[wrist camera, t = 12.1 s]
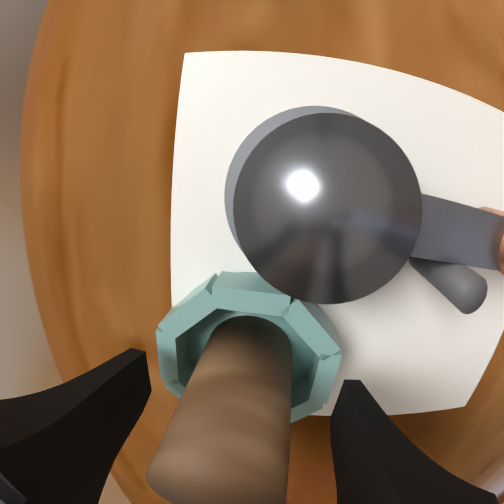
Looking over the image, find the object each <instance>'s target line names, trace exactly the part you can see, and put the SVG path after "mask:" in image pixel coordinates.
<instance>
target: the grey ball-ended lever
mask: <svg viewBox="0 0 504 504" xmlns="http://www.w3.org/2000/svg"><path fill="white" fill-rule="evenodd" d="M233 217H234V226H235V230H236V234H237V238H238V240H239V243H240V246H241V248H242V250H243V252H244V254H245V256H246V258H247V260H248V261H249V262H250V264H251V265H252V267H253V268H254V269H255V271H256V272H257V273H258V274H259V275H260V276H261V277H262V278H263V279H264V280H265V281H266V282H268V283H269V284H270V285H271V286H272V287H274V288H276V289H277V290H279V291H280V292H282V293H284V294H286V295H288V296H290V297H292V298H295V299H298V300H301V301H304V302H309V303H315V304H328V305H329V304H341V303H346V302H351V301H355V300H358V299H361V298H363V297H365V296H368V295H370V294H372V293H374V292H375V291H377V290H378V289H380V288H382V287H383V286H384V285H386V284H387V283H388V282H389V281H390V280H392V279H393V278H394V277H395V275H396V274H397V273H398V272H399V271H400V270H401V269H402V267H403V266H404V265H405V263H406V262H407V260H408V259H409V257H416V258H423V259H429V260H435V261H442V262H448V263H454V264H462V265H466V266H472V267H478V268H484V269H490V270H496V271H498V272H499V273H501V274H502V275H504V211H501V210H497V209H494V208H490V207H480V208H475V207H471V206H468V205H464V204H461V203H457V202H454V201H450V200H446V199H442V198H438V197H434V196H430V195H426V194H422V193H421V190H420V186H419V182H418V179H417V176H416V174H415V171H414V169H413V166H412V165H411V163H410V161H409V159H408V157H407V156H406V154H405V153H404V152H403V150H402V149H401V148H400V146H399V145H398V144H397V143H396V142H395V141H394V140H393V139H392V138H391V137H390V136H389V135H387V134H386V133H385V132H383V131H382V130H381V129H379V128H378V127H376V126H374V125H373V124H371V123H369V122H367V121H364V120H362V119H360V118H357V117H353V116H349V115H346V114H338V113H316V114H310V115H305V116H301V117H298V118H295V119H292V120H290V121H288V122H286V123H284V124H282V125H280V126H279V127H277V128H276V129H274V130H273V131H271V132H270V133H269V134H268V135H266V136H265V137H264V138H263V139H262V140H261V141H260V142H259V143H258V144H257V145H256V147H255V148H254V149H253V150H252V151H251V153H250V155H249V156H248V158H247V159H246V161H245V163H244V165H243V167H242V169H241V171H240V173H239V176H238V180H237V183H236V186H235V192H234V199H233Z"/></svg>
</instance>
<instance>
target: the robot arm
mask: <svg viewBox="0 0 504 504" xmlns="http://www.w3.org/2000/svg"><path fill="white" fill-rule="evenodd" d="M151 391H152V390H151V384H150V378H149V372H148V365H147V359H146V351H142V350H138V349H134V348H130V349H128V350H126V351H125V352H123V353H121V354H119V355H117V356H116V357H114V358H112V359H110V360H109V361H107V362H105V363H103V364H101V365H100V366H98V367H96V368H94V369H92V370H90V371H88V372H87V373H84V374H82V375H80V376H78V377H76V378H74V379H72V380H70V381H68V382H66V383H63V384H61V385H58V386H56V387H53V388H50V389H47V390H44V391H41V392H38V393H34V394H30V395H25V396H21V397H17V398H11V399H3V400H0V504H98V502H99V499H100V496H101V493H102V490H103V487H104V485H105V482H106V479H107V477H108V474H109V472H110V470H111V467H112V465H113V463H114V460H115V458H116V456H117V454H118V453H119V451H120V449H121V447H122V446H123V444H124V442H125V441H126V439H127V437H128V436H129V434H130V432H131V431H132V429H133V428H134V426H135V424H136V422H137V421H138V419H139V417H140V416H141V414H142V412H143V410H144V408H145V406H146V403H147V401H148V398H149V396H150V393H151ZM330 430H331V447H332V455H333V463H334V471H335V479H336V487H337V504H499V503H498V501H497V498H496V495H495V494H493V493H491V492H488V491H486V490H483V489H481V488H478V487H476V486H473V485H471V484H469V483H467V482H465V481H464V480H462V479H460V478H458V477H456V476H455V475H453V474H451V473H450V472H448V471H447V470H445V469H444V468H442V467H441V466H440V465H438V464H437V463H435V462H434V461H433V460H431V459H430V458H429V457H428V456H426V455H425V454H424V453H423V452H422V451H421V450H420V449H418V448H417V447H416V446H415V445H414V444H413V443H412V442H411V441H410V440H409V439H408V438H407V437H406V436H405V435H404V434H403V433H402V432H401V431H400V430H399V428H398V427H397V426H396V425H395V424H394V423H393V422H392V420H391V419H390V418H389V417H388V415H387V414H386V413H385V412H384V411H383V409H382V408H381V407H380V405H379V404H378V403H377V401H376V400H375V399H374V397H373V396H372V395H371V393H370V392H369V391H368V389H367V388H366V387H365V385H364V384H363V383H362V381H361V380H350V379H344V381H343V384H342V387H341V390H340V393H339V395H338V398H337V401H336V404H335V406H334V409H333V412H332V414H331V428H330Z"/></svg>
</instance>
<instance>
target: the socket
mask: <svg viewBox="0 0 504 504" xmlns="http://www.w3.org/2000/svg"><path fill="white" fill-rule="evenodd" d="M245 315H248V316H257V317H261V318H264V319H267V320H269V321H271V322H273V323H274V324H276V325H277V326H279V327H280V328H281V329H282V330H283V331H284V332H285V334H286V335H287V336H288V338H289V340H290V343H291V346H292V392H291V423H293V422H295V421H297V420H300V419H302V418H304V417H306V416H308V415H310V414H312V413H314V412H316V411H318V410H320V409H322V408H323V404H327V402H328V399H329V396H330V393H331V390H332V387H333V384H334V381H335V378H336V375H337V371H338V368H339V365H340V361H341V358H342V353H341V348H340V344H339V340H338V336H337V332H336V329H335V327H334V326H333V325H332V324H331V322H330V321H329V320H328V319H327V318H326V316H325V315H324V313H323V311H322V310H321V308H320V307H319V306H318V304H315V303H309V302H304V301H301V300H298V299H295V298H292V297H290V296H288V295H286V294H284V293H282V292H280V291H279V290H277V289H276V288H274V287H272V286H271V285H270V284H269V283H268V282H266V281H265V280H264V279H263V278H262V277H261V276H260V275H259V274H258V273H257V272H235V273H234V272H225V271H222V272H221V273H220V275H219V276H218V275H217V274H216V273H215V274H213V275H212V276H211V277H210V278H208V279H207V280H206V281H205V282H203V283H202V284H201V285H199V286H198V287H196V288H195V289H194V290H193V291H192V292H190V293H189V294H188V295H187V296H186V297H185V298H184V299H183V300H181V301H180V302H179V303H178V304H176V305H175V306H174V307H173V308H172V309H171V310H170V311H169V312H168V313H167V315H166V316H165V317H164V318H163V320H162V321H161V322H160V323H159V325H158V326H159V327H158V328H157V330H156V339H157V349H158V358H159V366H160V374H161V381H165V382H166V383H165V385H164V386H166V387H167V388H168V389H169V390H170V391H171V392H172V393H173V394H174V395H176V396H177V397H178V398H179V399H181V397H182V395H183V393H184V391H185V389H186V386H187V384H188V382H189V380H190V378H191V376H192V374H193V371H194V369H195V367H196V365H197V363H198V361H199V359H200V356H201V354H202V352H203V350H204V348H205V346H206V344H207V341H208V339H209V337H210V335H211V333H212V331H213V330H214V329H215V328H216V326H217V325H219V324H220V323H221V322H223V321H225V320H227V319H229V318H232V317H236V316H245Z"/></svg>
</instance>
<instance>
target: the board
mask: <svg viewBox="0 0 504 504" xmlns="http://www.w3.org/2000/svg"><path fill="white" fill-rule="evenodd" d="M316 113H338V114H346V115H349V116H353V117H357V118H360V119H362V120H364V121H367V122H369V123H371V124H373V125H374V126H376V127H378V128H379V129H381V130H382V131H383V132H385V133H386V134H387V135H389V136H390V137H391V138H392V139H393V140H394V141H395V142H396V143H397V144H398V145H399V146H400V148H401V149H402V150H403V152H404V153H405V154H406V156H407V157H408V159H409V161H410V163H411V165H412V166H413V169H414V171H415V174H416V176H417V179H418V182H419V186H420V190H421V193H422V194H426V195H430V196H434V197H438V198H442V199H446V200H450V201H454V202H457V203H461V204H464V205H468V206H471V207H475V208H480V207H490V208H494V209H497V210H501V211H504V112H502V111H500V110H498V109H496V108H494V107H492V106H490V105H488V104H486V103H483V102H481V101H479V100H477V99H475V98H472V97H470V96H468V95H465V94H463V93H460V92H458V91H455V90H453V89H450V88H447V87H445V86H442V85H439V84H436V83H433V82H430V81H427V80H424V79H421V78H418V77H415V76H412V75H408V74H405V73H401V72H397V71H394V70H390V69H386V68H382V67H377V66H373V65H368V64H364V63H359V62H354V61H348V60H342V59H336V58H330V57H323V56H315V55H306V54H296V53H284V52H266V51H213V52H196V53H185V56H184V62H183V70H182V77H181V85H180V93H179V102H178V112H177V122H176V134H175V147H174V161H173V179H172V204H171V293H172V308H173V307H174V306H175V305H176V304H178V303H179V302H180V301H181V300H183V299H184V298H185V297H186V296H187V295H188V294H189V293H190V292H192V291H193V290H194V289H195V288H196V287H198V286H199V285H201V284H202V283H203V282H205V281H206V280H207V279H208V278H210V277H211V276H212V275H213V274H215V273H216V274H217V275H218V276H219V275H220V273H221V272H222V271H225V272H234V273H235V272H256V271H255V269H254V268H253V267H252V265H251V264H250V262H249V261H248V260H247V258H246V256H245V254H244V252H243V250H242V248H241V246H240V243H239V240H238V238H237V234H236V230H235V226H234V217H233V199H234V192H235V186H236V183H237V180H238V176H239V173H240V171H241V169H242V167H243V165H244V163H245V161H246V159H247V158H248V156H249V155H250V153H251V151H252V150H253V149H254V148H255V147H256V145H257V144H258V143H259V142H260V141H261V140H262V139H263V138H264V137H265V136H266V135H268V134H269V133H270V132H271V131H273V130H274V129H276V128H277V127H279V126H280V125H282V124H284V123H286V122H288V121H290V120H292V119H295V118H298V117H301V116H305V115H310V114H316ZM318 306H319V307H320V308H321V310H322V311H323V313H324V315H325V316H326V318H327V319H328V320H329V321H330V322H331V324H332V325H333V326H334V327H335V329H336V332H337V336H338V340H339V344H340V348H341V353H342V358H341V361H340V365H339V368H338V371H337V375H336V378H335V381H334V384H333V387H332V390H331V393H330V396H329V399H328V402H327V404H323V408H322V409H320V410H318V411H316V412H314V413H312V414H310V415H320V416H331V414H332V412H333V409H334V406H335V404H336V401H337V398H338V395H339V393H340V390H341V387H342V384H343V381H344V379H350V380H361V381H362V383H363V384H364V385H365V387H366V388H367V389H368V391H369V392H370V393H371V395H372V396H373V397H374V399H375V400H376V401H377V403H378V404H379V405H380V407H381V408H382V409H383V411H384V412H385V413H386V414H387V415H398V414H411V413H421V412H430V411H438V410H445V409H452V408H458V407H464V406H465V405H466V403H467V402H468V400H469V398H470V397H471V395H472V393H473V392H474V390H475V388H476V386H477V384H478V383H479V381H480V379H481V377H482V375H483V373H484V371H485V369H486V367H487V365H488V363H489V361H490V359H491V357H492V355H493V353H494V351H495V349H496V346H497V344H498V342H499V339H500V337H501V335H502V332H503V330H504V275H502V274H501V273H499V272H498V271H496V270H490V269H484V268H478V267H472V266H466V265H462V264H454V263H448V262H442V261H435V260H429V259H423V258H416V257H409V259H408V260H407V262H406V263H405V265H404V266H403V267H402V269H401V270H400V271H399V272H398V273H397V274H396V275H395V277H394V278H393V279H392V280H390V281H389V282H388V283H387V284H386V285H384V286H383V287H382V288H380V289H378V290H377V291H375V292H374V293H372V294H370V295H368V296H365V297H363V298H361V299H358V300H355V301H351V302H346V303H341V304H329V305H328V304H318Z"/></svg>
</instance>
